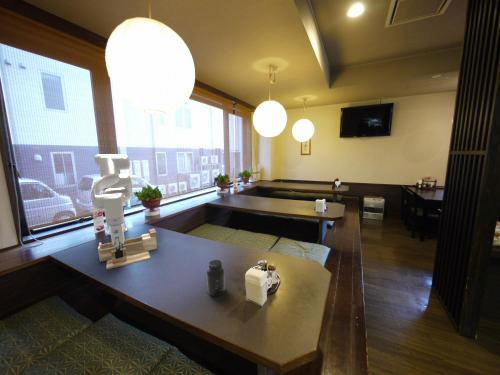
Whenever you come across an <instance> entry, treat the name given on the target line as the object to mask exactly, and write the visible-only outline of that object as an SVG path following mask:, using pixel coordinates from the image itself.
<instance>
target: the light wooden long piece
mask: <svg viewBox="0 0 500 375" xmlns="http://www.w3.org/2000/svg"><path fill="white" fill-rule="evenodd" d="M124 240H125V243H124V244H122V245H123V248H126V256H129V255H134V254H138V253H142V252H146V251H148V252H149V251H153V250H157V249H158V246H157V245H158V243H157V235H156V236H155V237H150V234H149V233H144V234H141V236H138V237H132V238H128V239H124ZM115 245H116V244H115ZM111 250H115V246H113V244H112V242H108V243H104V244H102V242H98V246H97V251H98V258H99V259H98V260H99V263H101V261H102V262H105V261H106V262H107V261H108V260H112V255H111Z"/></svg>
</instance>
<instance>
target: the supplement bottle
mask: <svg viewBox="0 0 500 375" xmlns="http://www.w3.org/2000/svg"><path fill="white" fill-rule="evenodd" d="M206 284H207V285H206V286H207V293H208V295H209V296H211V297H219V296H222V295H223V294H224V293H225V291H226V275H225V269H224V267H223V264H222V261H221V260H220V259H212V260H211V261H209V263H208V269H207V271H206Z"/></svg>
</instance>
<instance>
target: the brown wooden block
mask: <svg viewBox="0 0 500 375" xmlns="http://www.w3.org/2000/svg"><path fill="white" fill-rule="evenodd" d="M148 232H149V234H150V237H155V236H156V237H157V231H156V229H155V228H150V229H148Z"/></svg>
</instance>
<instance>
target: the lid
mask: <svg viewBox="0 0 500 375" xmlns="http://www.w3.org/2000/svg"><path fill="white" fill-rule="evenodd" d="M122 250H123V258H118V259H116V258H115V250H111V255H112V259H110V260H106V270H111V269H115V268H119V267H122V266H123V267H124V266H127V265H130V264H134V263H139V262H143V261H146V260H151V256H150V252H149V251H145V252H140V253H136V254H132V255H128V256H126V248H122Z"/></svg>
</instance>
